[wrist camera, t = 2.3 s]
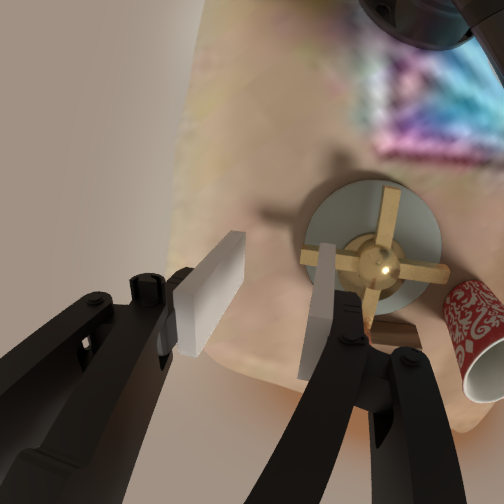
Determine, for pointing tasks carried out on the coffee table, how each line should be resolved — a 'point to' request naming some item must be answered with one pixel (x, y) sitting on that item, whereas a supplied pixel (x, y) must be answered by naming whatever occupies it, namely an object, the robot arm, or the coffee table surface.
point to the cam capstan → (377, 261)
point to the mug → (477, 339)
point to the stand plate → (364, 220)
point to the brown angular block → (393, 336)
